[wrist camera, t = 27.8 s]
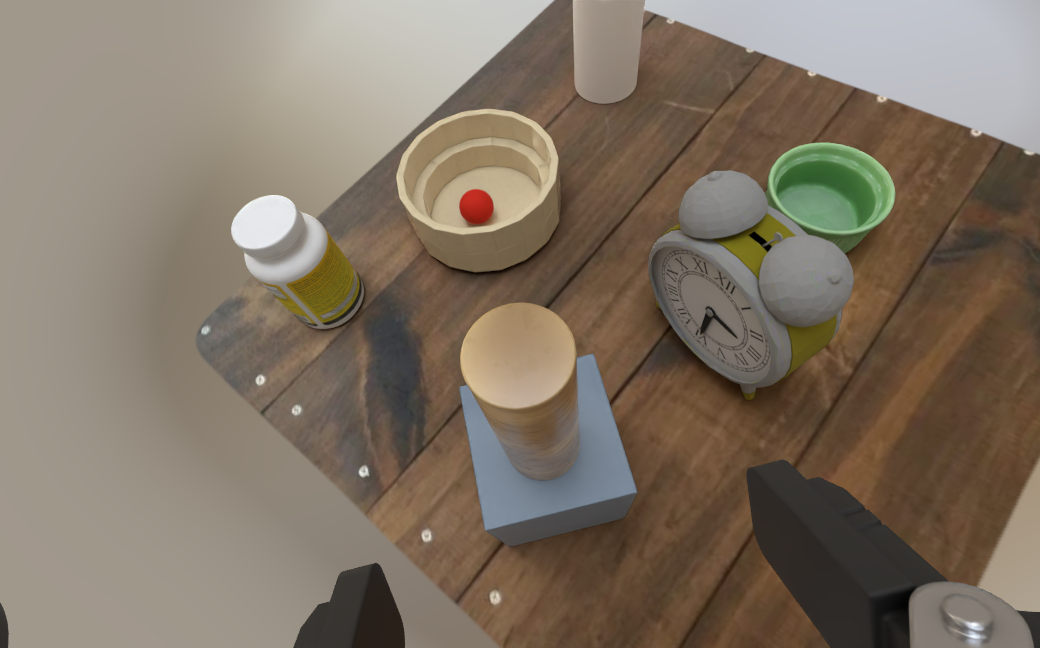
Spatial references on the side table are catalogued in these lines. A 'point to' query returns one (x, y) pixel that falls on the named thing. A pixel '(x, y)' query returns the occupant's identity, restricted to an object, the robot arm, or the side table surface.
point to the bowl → (482, 188)
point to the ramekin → (831, 192)
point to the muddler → (526, 386)
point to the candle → (606, 48)
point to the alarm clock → (747, 282)
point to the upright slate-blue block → (563, 500)
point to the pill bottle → (297, 262)
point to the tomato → (476, 206)
